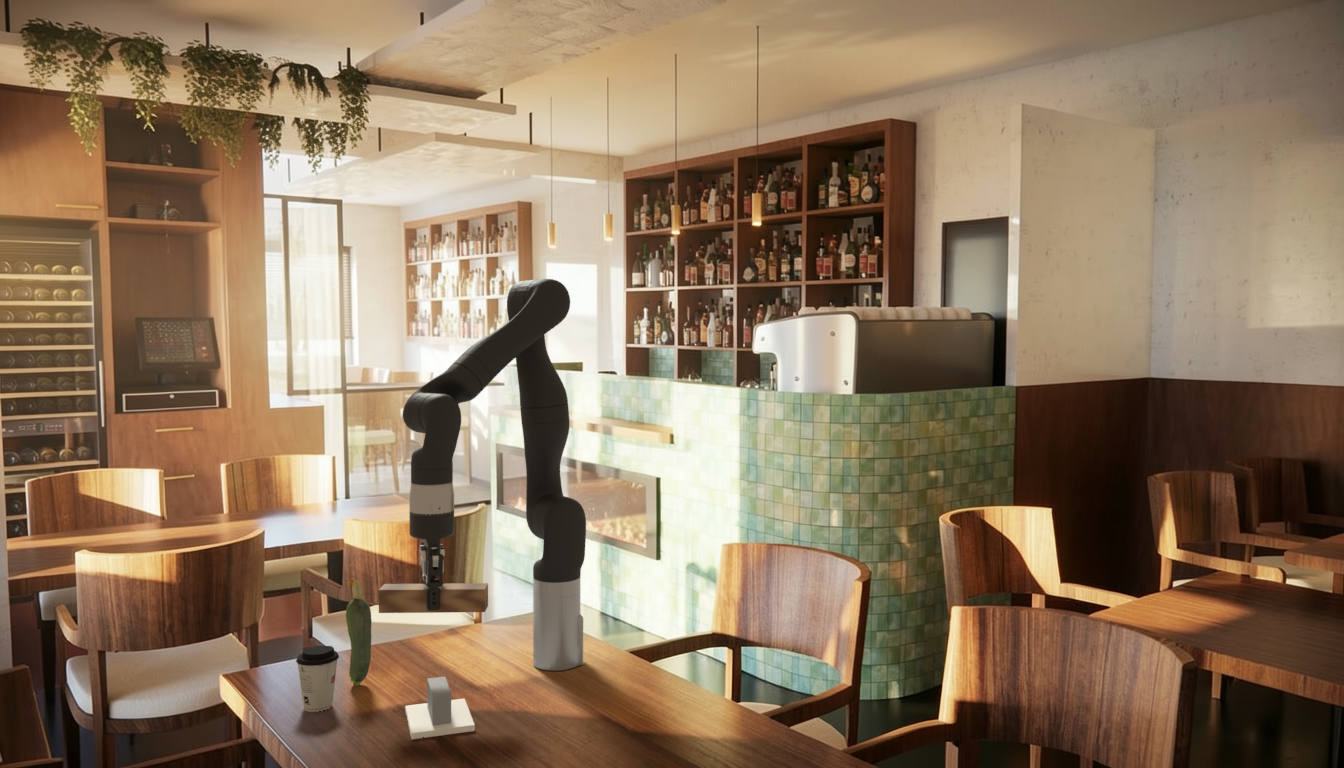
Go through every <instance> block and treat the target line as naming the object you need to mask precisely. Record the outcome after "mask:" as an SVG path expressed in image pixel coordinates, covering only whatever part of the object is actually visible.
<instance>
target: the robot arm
mask: <svg viewBox="0 0 1344 768" xmlns="http://www.w3.org/2000/svg"><path fill="white" fill-rule="evenodd" d="M506 300H507V301H506V312H507V317H508V322H506V323H505V324H503V325H502V326H501V327H499V328H497V329H495V330H494V331H493V332H491V333H490V334H488V335H486V336H484V337H483V338H481V339H480V340H478V341H477V342H475V343H474V344H472V345H471V346H469V347H468V348H467V349H466V350H465V351H464V352H463V353H462V354H461V355H460V356H459V357H458V358H457V359H456V360H455V361H454V362H453V363H452V364H451V365H450V366H449V367H448V368H447V369H446V370H445V371H444V372H442V373H441V374H439V375H437V376H435V377H434V378H432V379H431V380H429V381H428V382H426V383H424V384H423V385H422V386H421V387H419V388H417V390H415V391H414V392H413V393H412V394H411V395H410V396H409V398H408V399H407V401H406V402H405V404H404V405H403V410H402V419H403V422H404V424H405V425H406V427H407V428H408V429H409V430H411V431H413V432H417V433H419V434H425V435H424V440H423V444H422V447H420V448H417V449H415V450H414V451H413V452H412V454H411V458H410V490H409V498H408V499H409V535H410V536H411V537H412V538H413V539H419V540H421V542H420V545H419V556H420V569H421V573H422V580H423V584H426V585H425V586H426V589H427V609H428V610H429V611H432V610H439V609H440V588H441V587H442V585H443V584H444V581H443V579H444V578H443V576H444V572H445V571H444V570H445V567H444V565H445V563H444V559H445V556H446V552H445V551H446V550H445V546H444V544H443V543H441V539H443V538H448V537H451V536H453V535H454V533H455V490H454V483H453V482H454V481H453V480H454V479H453V476H454V474H453V473H454V471H453V469H454V467H453V466H454V464H453V463H454V462H453V459H454V454H455V451H456V448H457V443H458V439H459V435H460V431H461V426H462V414H461V413H462V411H461V408H460V405H459V404H462V403H467V402H470V401H472V400H474V399H475V398H477V396H478V395H479V394H481V392H482V391H484V389H486V387H487V386H488V385H489V384H490V383H491V382H492V381H493V380H494V379H495V378H496V376H498V375H499V374H500V373H501V371H502V370H503V369H505V368H506V366H508V365H509V364H510V363H511V362H512V361H514V360H515V363H516V372H517V373H516V374H517V382H518V388H519V389H518V390H519V405H520V406H519V407H520V408H519V409H520V417H521V418H520V420H521V426H522V437H523V447H524V448H523V449H524V460H525V469H526V470H525V471H526V490H525V491H526V494H525V495H526V498H525V501H526V502H525V515H526V517H525V518H526V523H527V527H528V528H529V529H528V530H530V532H531V533H532V534H533V536H535V537H536V538H538V539H540V540H542V541H543V547H542V548H543V549H542V557H541V559H538V560H537V561H535V562H534V564H533V567H532V569H533V570H532V575H533V577H532V578H533V579H532V581H533V582H532V585H533V586H532V589H533V596H532V597H533V603H532V604H533V605H532V608H533V609H532V610H533V611H532V612H533V613H532V614H533V616H532V618H533V620H532V627H533V629H532V632H533V634H532V635H533V636H532V637H533V638H532V639H533V640H532V641H533V642H532V645H533V646H532V647H533V650H532V656H533V657H532V658H533V659H532V661H533V663H532V664H533V666H534V667H535V668H537V669H539V670H542V671H543V670H544V671H565V670H570V669H573V668H577V667H578V666H584V616H583V615H582V614H581V575H582V574H581V572H582V571H581V570H582V566H583V565H584V561H585V557H586V542H587V541H586V540H587V538H586V536H587V520H586V519H587V518H586V513H585V510H584V508H583V505H582V504H581V503H580V502H579V501H578V500H576V499H574V498H571V497H568V496H564V494H563V488H562V479H561V478H562V477H561V462H562V458H563V457H562V456H563V454H564V450H565V448H566V444H567V441H568V439H569V438H568V436H569V432H570V412H569V411H570V410H569V409H570V408H569V403H568V402H569V400H568V399H569V398H568V394H567V390H566V388H565V386H564V383H563V381H562V380H561V377H560V376H559V373H557V372H558V371H557V370H556V368H555V367H554V365H553V363H552V360H551V359H550V355H549V354H548V350H547V345H546V338H545V337H546V336H545V335H546V334H547V333H548V332H550V331H551V330H553V329H554V328H556V326H558V325H559V324H561V323H562V322H563V320H564V319H565V318H567V315H568V314H569V311H570V307H571V296H570V293H569V291H568V289H567V288H566V285H565V284H563V283H562V282H560V281H559V280H556V279H553V278H552V279H551V278H536V279H526V280H520V281H517V282H515V283H514V284H513V285H512V286H511V288H510V289H509V291H508V295H507V299H506Z"/></svg>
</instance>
